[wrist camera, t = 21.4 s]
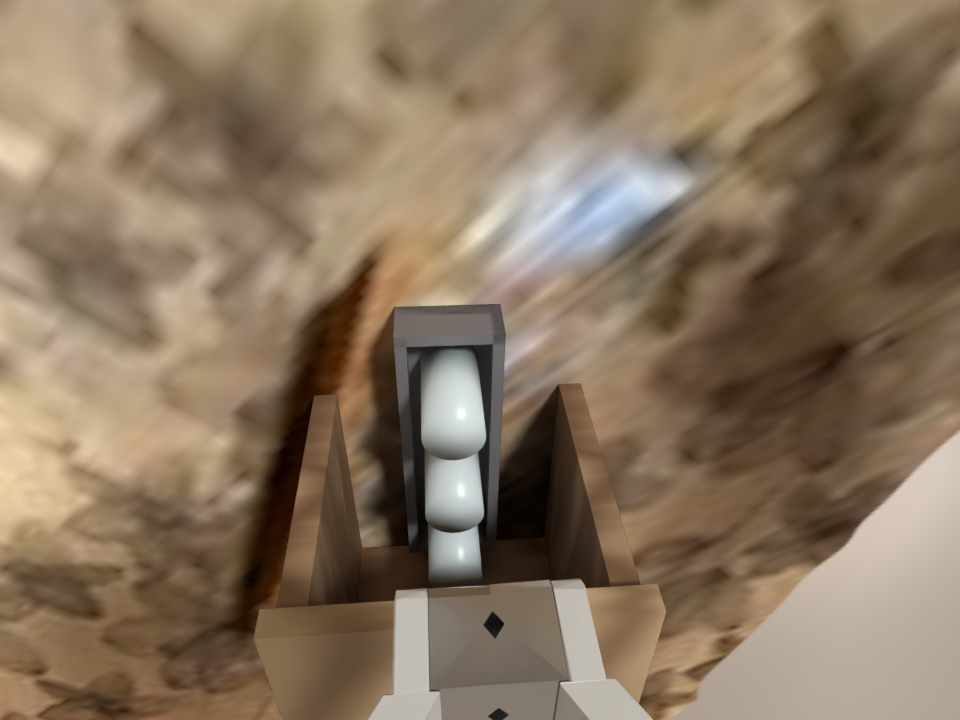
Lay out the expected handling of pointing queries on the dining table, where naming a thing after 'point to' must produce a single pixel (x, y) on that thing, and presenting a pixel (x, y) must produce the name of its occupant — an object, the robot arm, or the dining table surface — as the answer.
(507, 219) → the dining table surface
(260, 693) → the dining table surface
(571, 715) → the robot arm
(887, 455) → the dining table surface
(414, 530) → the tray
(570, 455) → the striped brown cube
